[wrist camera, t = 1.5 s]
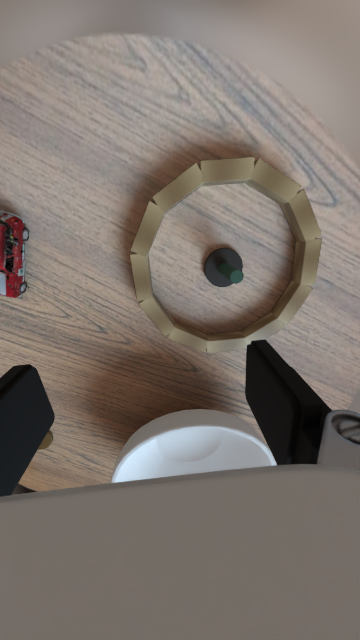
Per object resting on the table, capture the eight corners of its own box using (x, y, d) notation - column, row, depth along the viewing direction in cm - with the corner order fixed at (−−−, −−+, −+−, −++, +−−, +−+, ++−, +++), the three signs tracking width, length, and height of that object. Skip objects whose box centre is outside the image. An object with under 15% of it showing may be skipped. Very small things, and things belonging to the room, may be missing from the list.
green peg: (204, 287, 24) (213, 301, 20) (203, 249, 23) (213, 254, 18) (240, 284, 25) (258, 297, 20) (241, 246, 23) (261, 250, 18)
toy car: (-8, 288, 23) (-33, 296, 20) (-7, 205, 20) (-36, 201, 17) (29, 297, 24) (10, 307, 21) (34, 218, 21) (13, 216, 18)
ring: (147, 351, 27) (145, 359, 25) (120, 171, 20) (116, 166, 18) (297, 337, 28) (305, 344, 26) (322, 157, 21) (336, 150, 19)
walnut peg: (28, 447, 32) (5, 485, 27) (18, 427, 30) (-8, 462, 26) (56, 444, 32) (38, 481, 27) (48, 423, 30) (27, 459, 26)
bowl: (279, 435, 34) (307, 485, 27) (182, 495, 38) (185, 551, 31) (199, 353, 28) (209, 392, 21) (92, 435, 32) (73, 490, 25)
